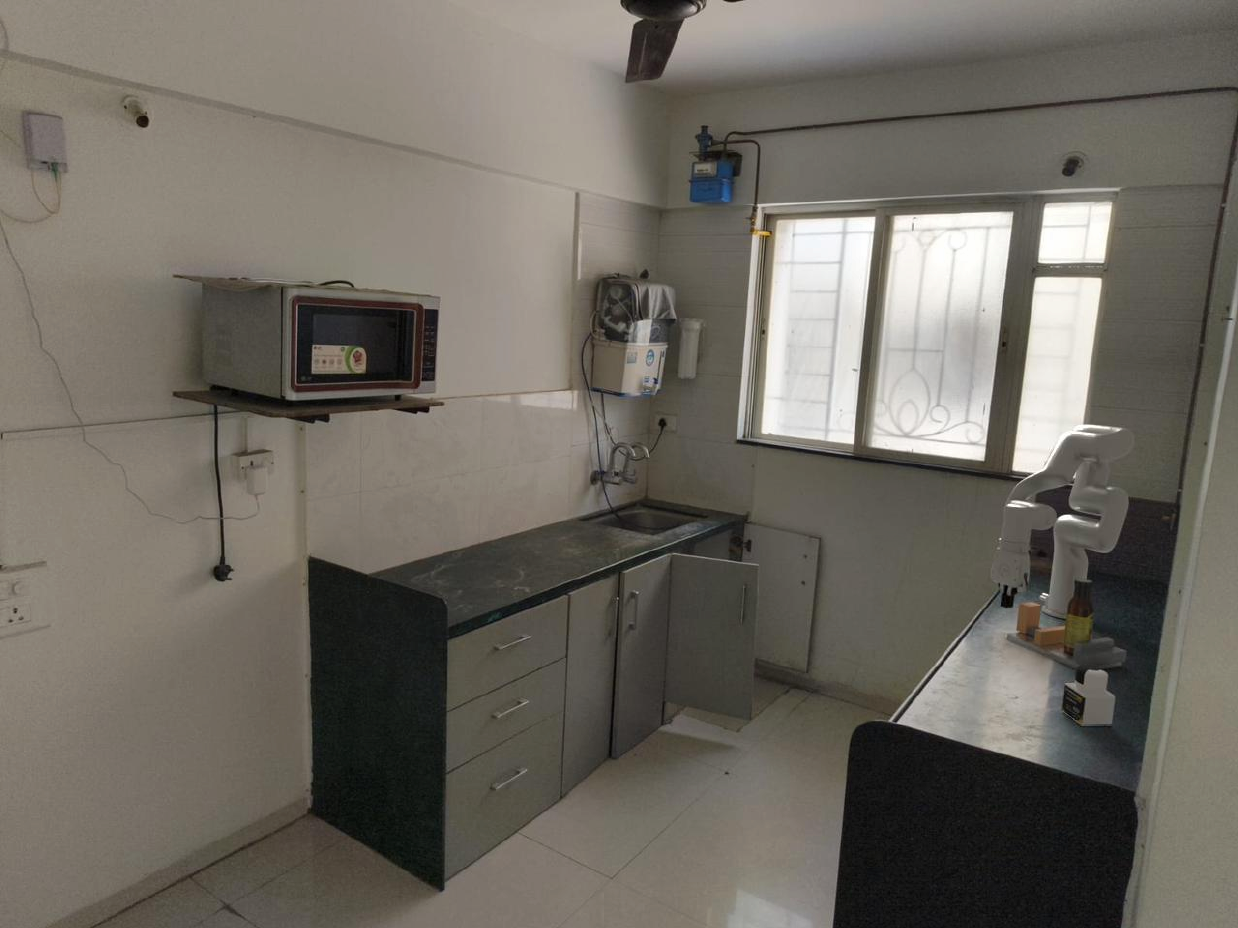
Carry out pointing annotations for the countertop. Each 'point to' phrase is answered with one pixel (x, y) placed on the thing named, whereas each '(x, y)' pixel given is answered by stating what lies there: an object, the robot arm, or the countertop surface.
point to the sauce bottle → (1079, 615)
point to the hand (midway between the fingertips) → (1006, 606)
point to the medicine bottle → (1089, 696)
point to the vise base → (1049, 650)
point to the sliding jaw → (1037, 625)
